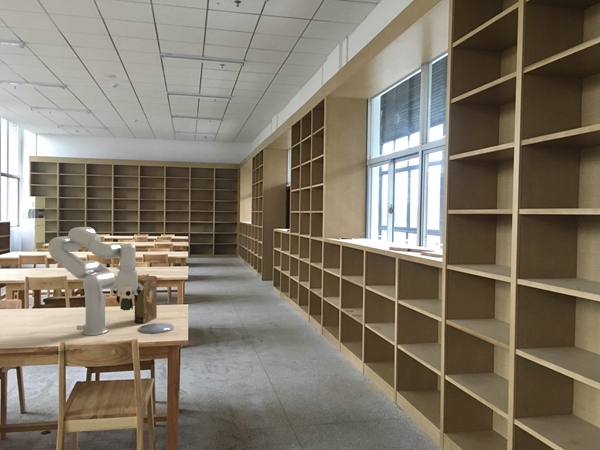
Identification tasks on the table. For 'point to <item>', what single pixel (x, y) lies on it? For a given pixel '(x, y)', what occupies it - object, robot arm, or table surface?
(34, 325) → the table surface
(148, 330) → the saucer
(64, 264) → the robot arm
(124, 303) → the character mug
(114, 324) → the table surface
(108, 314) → the table surface
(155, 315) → the book
